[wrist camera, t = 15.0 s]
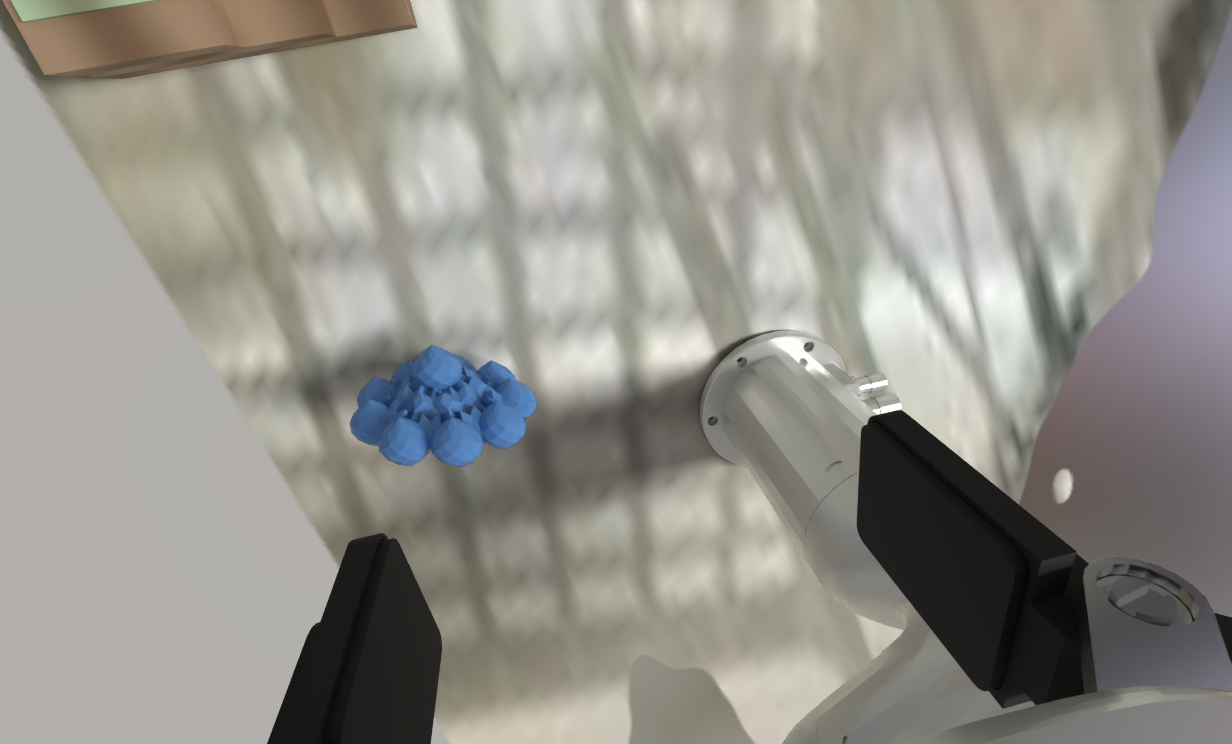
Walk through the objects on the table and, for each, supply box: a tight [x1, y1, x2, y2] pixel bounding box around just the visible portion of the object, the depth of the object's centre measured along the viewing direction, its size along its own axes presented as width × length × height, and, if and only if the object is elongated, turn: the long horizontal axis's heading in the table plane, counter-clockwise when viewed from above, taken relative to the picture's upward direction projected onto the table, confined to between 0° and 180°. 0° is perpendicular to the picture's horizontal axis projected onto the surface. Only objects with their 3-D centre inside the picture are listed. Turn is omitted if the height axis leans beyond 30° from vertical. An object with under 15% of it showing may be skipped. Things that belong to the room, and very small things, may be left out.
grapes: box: [350, 345, 537, 467], centre depth 36 cm, size 12×7×12 cm, turn 92°
